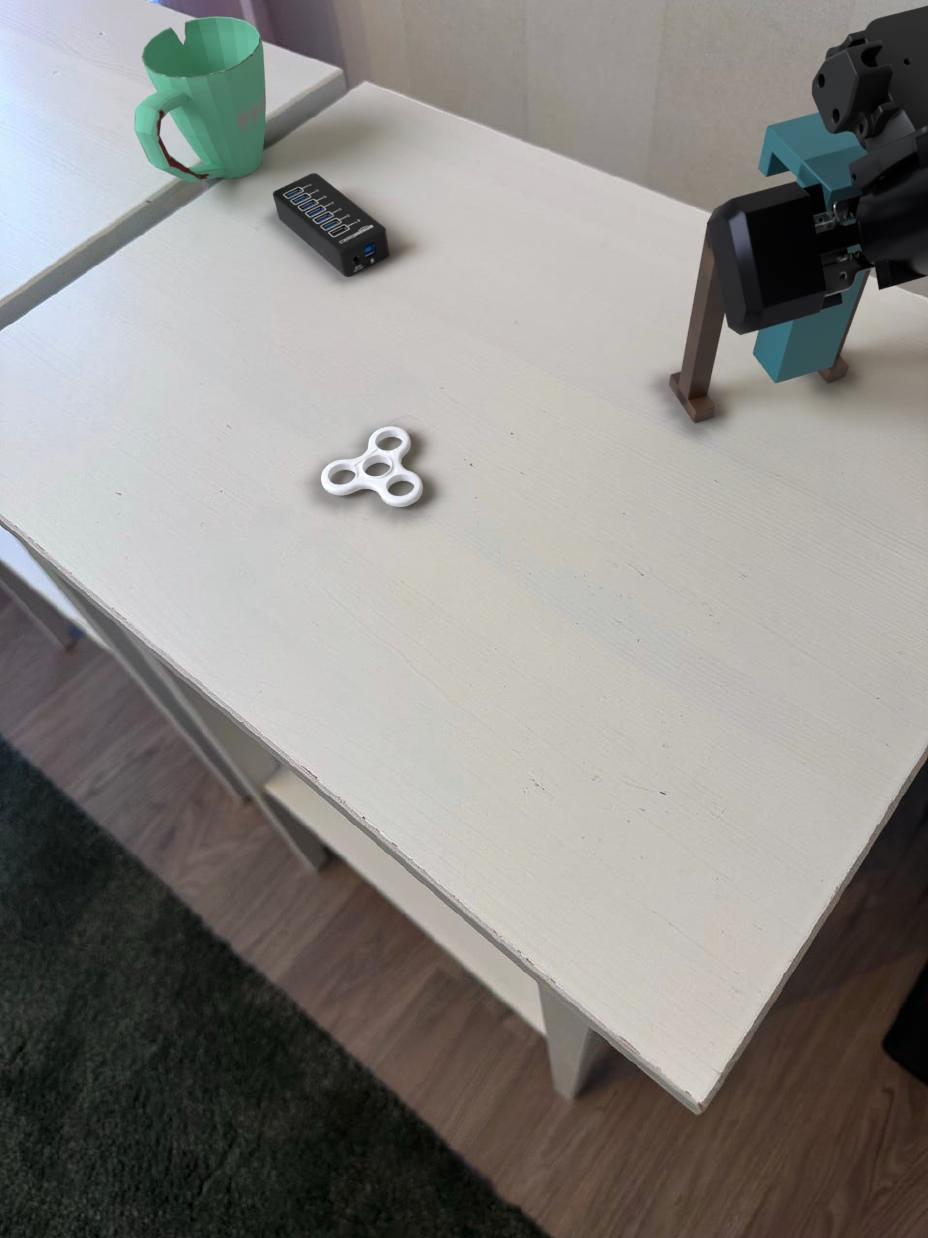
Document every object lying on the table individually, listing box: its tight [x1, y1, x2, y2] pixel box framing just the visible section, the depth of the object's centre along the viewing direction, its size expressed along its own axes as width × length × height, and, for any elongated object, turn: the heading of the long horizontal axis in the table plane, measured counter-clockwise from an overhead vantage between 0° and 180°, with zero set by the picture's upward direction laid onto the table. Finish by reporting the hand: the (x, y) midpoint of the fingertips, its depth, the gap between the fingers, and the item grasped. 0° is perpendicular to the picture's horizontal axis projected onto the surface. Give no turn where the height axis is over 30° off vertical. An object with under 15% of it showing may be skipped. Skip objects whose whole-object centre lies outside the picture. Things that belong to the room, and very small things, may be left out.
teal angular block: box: [752, 111, 867, 384], centre depth 53 cm, size 7×4×13 cm, turn 18°
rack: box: [668, 226, 872, 424], centre depth 57 cm, size 4×12×14 cm, turn 108°
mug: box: [133, 15, 267, 184], centre depth 77 cm, size 15×10×10 cm
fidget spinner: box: [320, 425, 424, 508], centre depth 60 cm, size 7×6×1 cm
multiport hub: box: [272, 172, 390, 277], centre depth 74 cm, size 4×11×2 cm, turn 37°
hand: (806, 258), depth 53 cm, fingers closed on teal angular block, 4 cm apart
